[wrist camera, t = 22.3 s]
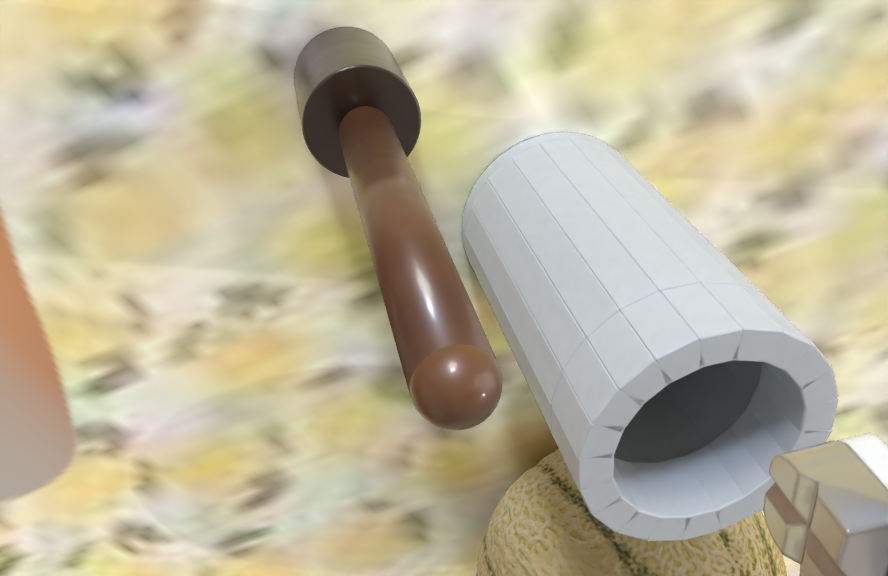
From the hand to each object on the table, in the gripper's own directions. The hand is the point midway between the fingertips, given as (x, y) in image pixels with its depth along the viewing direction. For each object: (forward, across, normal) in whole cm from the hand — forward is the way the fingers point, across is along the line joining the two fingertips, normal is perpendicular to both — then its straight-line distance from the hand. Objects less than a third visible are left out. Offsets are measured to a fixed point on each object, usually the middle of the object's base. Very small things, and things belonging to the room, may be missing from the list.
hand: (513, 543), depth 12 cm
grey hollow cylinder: (+23, -8, +8) cm, 26 cm away
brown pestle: (+23, 0, +1) cm, 23 cm away
